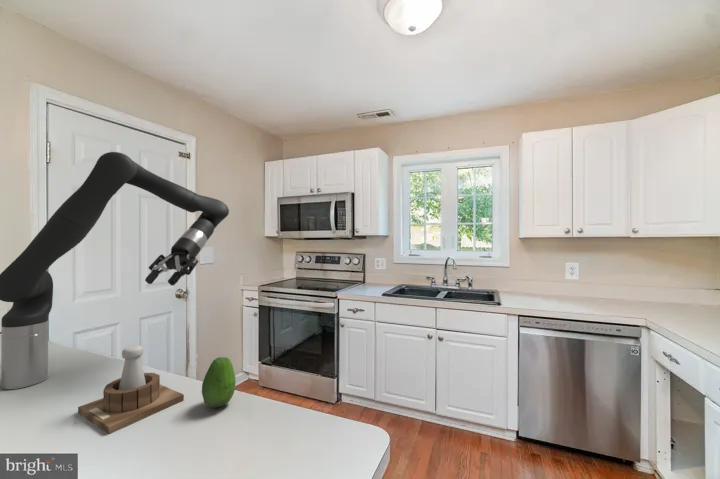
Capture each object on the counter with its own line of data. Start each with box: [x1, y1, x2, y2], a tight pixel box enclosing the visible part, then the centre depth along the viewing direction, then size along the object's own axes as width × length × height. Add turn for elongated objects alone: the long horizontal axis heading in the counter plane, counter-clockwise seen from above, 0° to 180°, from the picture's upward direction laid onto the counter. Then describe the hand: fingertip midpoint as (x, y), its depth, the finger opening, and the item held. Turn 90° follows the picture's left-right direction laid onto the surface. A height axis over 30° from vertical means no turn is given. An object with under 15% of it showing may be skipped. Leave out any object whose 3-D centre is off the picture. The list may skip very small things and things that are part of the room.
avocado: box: [201, 356, 237, 409], centre depth 77 cm, size 8×8×12 cm
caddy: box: [77, 372, 185, 435], centre depth 76 cm, size 16×16×6 cm
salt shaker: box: [118, 344, 146, 390], centre depth 77 cm, size 6×6×13 cm
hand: (158, 283), depth 92 cm, fingers open, 8 cm apart
